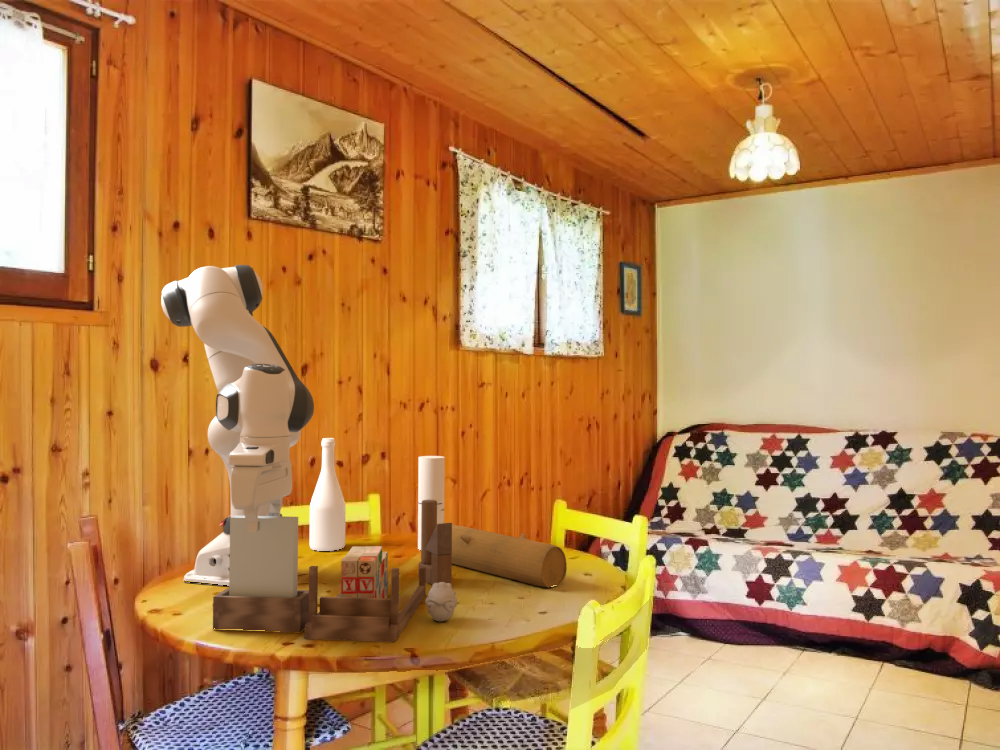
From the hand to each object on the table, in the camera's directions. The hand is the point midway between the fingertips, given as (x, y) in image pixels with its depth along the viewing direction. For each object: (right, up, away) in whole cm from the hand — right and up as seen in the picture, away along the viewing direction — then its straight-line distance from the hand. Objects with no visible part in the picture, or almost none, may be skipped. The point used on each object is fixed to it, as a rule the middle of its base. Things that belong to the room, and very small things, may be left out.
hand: (263, 526), depth 141 cm
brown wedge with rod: (+29, -19, +32) cm, 47 cm away
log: (+42, -20, +42) cm, 62 cm away
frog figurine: (+32, -19, +4) cm, 38 cm away
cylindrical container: (+25, -20, +68) cm, 75 cm away
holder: (0, -18, 0) cm, 18 cm away
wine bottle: (-3, -20, +67) cm, 70 cm away
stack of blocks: (+17, -19, +11) cm, 28 cm away
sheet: (0, -18, 0) cm, 18 cm away
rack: (+19, -18, +6) cm, 27 cm away
